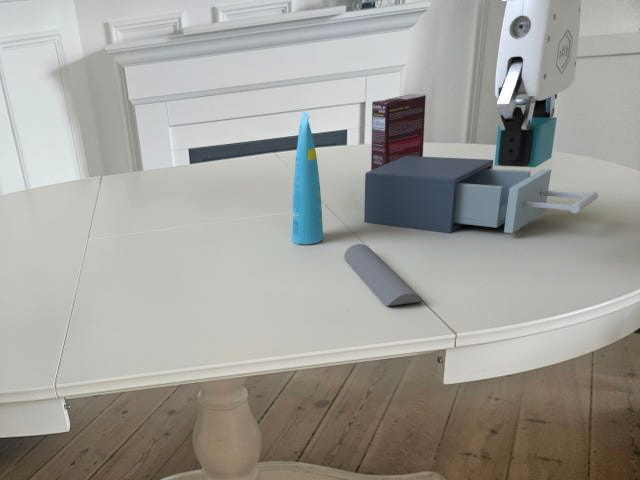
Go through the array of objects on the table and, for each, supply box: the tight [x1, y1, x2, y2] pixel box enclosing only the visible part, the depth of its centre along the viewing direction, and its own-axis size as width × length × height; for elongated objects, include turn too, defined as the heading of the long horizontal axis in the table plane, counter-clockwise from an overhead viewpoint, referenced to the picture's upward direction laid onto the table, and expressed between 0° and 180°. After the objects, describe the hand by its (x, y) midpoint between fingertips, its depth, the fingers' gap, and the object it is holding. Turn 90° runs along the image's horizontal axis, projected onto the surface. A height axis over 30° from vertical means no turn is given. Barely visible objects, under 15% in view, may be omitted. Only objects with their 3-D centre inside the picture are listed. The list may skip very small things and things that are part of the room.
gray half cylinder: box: [344, 243, 423, 307], centre depth 82 cm, size 4×20×2 cm, turn 1°
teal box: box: [493, 116, 558, 168], centre depth 72 cm, size 4×4×4 cm
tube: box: [291, 109, 324, 245], centre depth 96 cm, size 7×5×19 cm, turn 179°
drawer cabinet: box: [363, 156, 494, 234], centre depth 101 cm, size 15×13×8 cm
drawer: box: [454, 168, 599, 234], centre depth 93 cm, size 21×11×6 cm, turn 42°
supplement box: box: [370, 93, 427, 171], centre depth 119 cm, size 9×5×16 cm, turn 108°
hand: (523, 158), depth 73 cm, fingers closed on teal box, 4 cm apart
